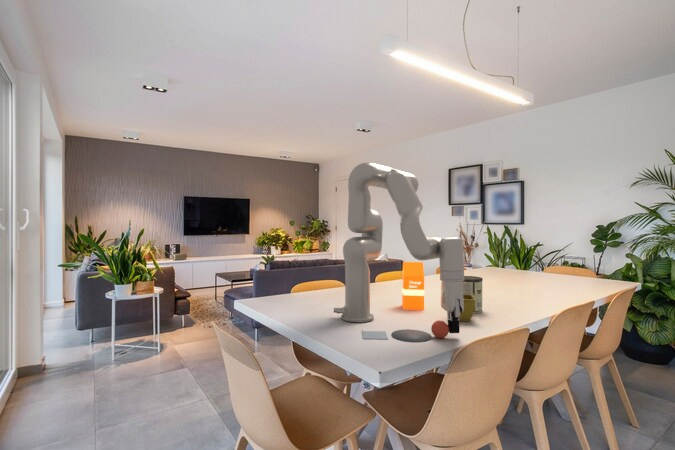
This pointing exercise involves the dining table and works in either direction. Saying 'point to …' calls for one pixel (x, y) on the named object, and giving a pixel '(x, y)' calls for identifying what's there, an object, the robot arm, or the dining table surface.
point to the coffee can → (473, 290)
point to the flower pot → (467, 308)
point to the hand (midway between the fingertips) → (453, 332)
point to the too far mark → (374, 335)
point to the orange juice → (413, 285)
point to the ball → (440, 329)
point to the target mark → (411, 335)
